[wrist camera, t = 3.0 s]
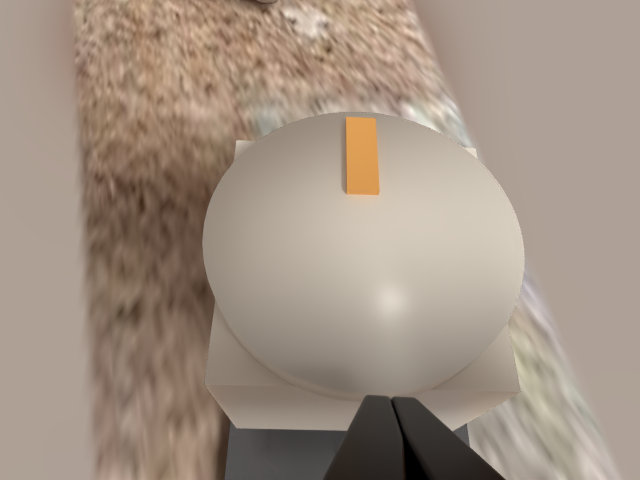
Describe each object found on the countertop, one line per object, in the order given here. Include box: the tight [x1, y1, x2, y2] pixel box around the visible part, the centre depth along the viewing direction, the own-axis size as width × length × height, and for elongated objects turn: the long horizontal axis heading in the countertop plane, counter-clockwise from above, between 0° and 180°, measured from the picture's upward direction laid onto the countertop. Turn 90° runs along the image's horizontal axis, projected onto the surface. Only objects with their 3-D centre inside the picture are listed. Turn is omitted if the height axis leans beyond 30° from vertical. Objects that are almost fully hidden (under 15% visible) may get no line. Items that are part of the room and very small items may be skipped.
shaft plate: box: [225, 421, 470, 480], centre depth 18 cm, size 12×10×7 cm
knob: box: [202, 112, 524, 431], centre depth 14 cm, size 8×8×7 cm
